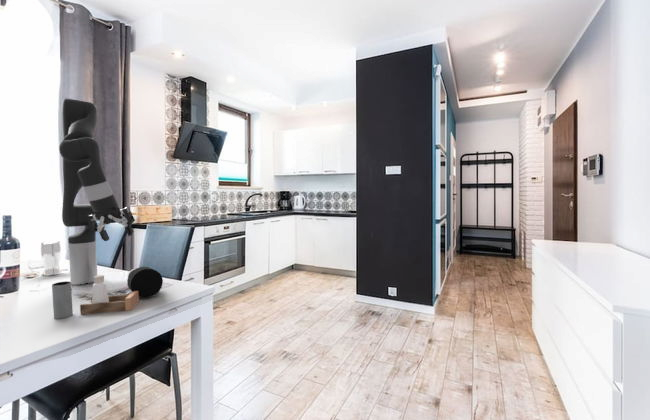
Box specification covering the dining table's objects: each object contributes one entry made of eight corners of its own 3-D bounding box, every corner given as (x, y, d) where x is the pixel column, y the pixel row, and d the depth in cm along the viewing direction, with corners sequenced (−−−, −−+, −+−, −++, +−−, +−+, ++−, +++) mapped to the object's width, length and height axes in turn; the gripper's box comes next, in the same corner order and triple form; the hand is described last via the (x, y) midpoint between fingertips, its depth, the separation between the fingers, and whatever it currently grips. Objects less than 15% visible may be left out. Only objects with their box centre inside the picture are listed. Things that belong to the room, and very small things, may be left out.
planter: (54, 315, 99) (52, 283, 99) (72, 312, 102) (71, 280, 101) (53, 320, 96) (51, 286, 95) (72, 316, 98) (70, 283, 98)
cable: (141, 288, 141) (151, 266, 145) (155, 301, 114) (167, 273, 118) (116, 281, 136) (127, 259, 139) (124, 293, 109) (139, 264, 112)
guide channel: (80, 314, 100) (79, 301, 100) (92, 305, 108) (91, 294, 107) (130, 310, 103) (130, 298, 103) (138, 302, 111) (138, 290, 111)
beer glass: (38, 276, 147) (36, 243, 146) (50, 272, 154) (48, 241, 153) (54, 275, 147) (52, 243, 146) (65, 271, 154) (63, 241, 153)
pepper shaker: (94, 313, 101) (93, 279, 100) (87, 309, 104) (85, 276, 103) (113, 307, 105) (112, 275, 105) (106, 304, 108) (104, 272, 108)
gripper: (126, 189, 115) (142, 229, 121) (86, 197, 114) (104, 237, 120) (116, 194, 108) (134, 237, 114) (73, 203, 107) (93, 246, 113)
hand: (119, 237), depth 117 cm, fingers open, 8 cm apart
